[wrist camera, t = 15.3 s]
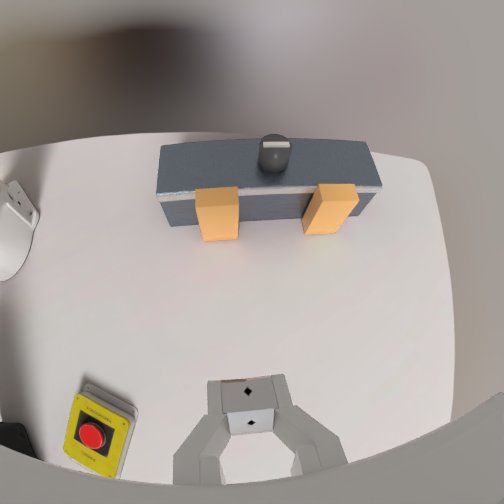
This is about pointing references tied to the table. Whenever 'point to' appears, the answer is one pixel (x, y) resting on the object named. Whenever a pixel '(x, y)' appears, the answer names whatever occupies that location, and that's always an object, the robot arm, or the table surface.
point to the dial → (274, 153)
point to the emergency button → (99, 431)
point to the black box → (15, 438)
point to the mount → (261, 176)
